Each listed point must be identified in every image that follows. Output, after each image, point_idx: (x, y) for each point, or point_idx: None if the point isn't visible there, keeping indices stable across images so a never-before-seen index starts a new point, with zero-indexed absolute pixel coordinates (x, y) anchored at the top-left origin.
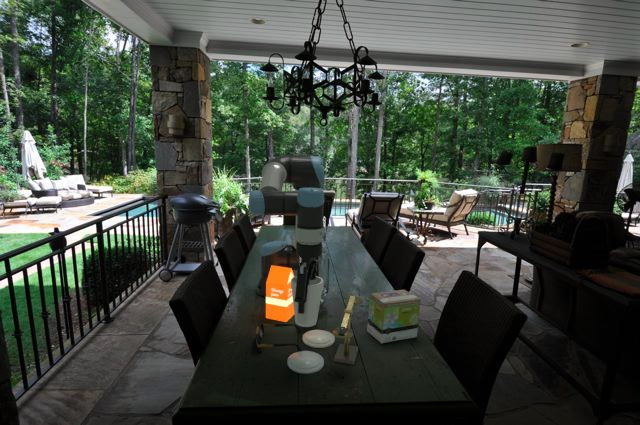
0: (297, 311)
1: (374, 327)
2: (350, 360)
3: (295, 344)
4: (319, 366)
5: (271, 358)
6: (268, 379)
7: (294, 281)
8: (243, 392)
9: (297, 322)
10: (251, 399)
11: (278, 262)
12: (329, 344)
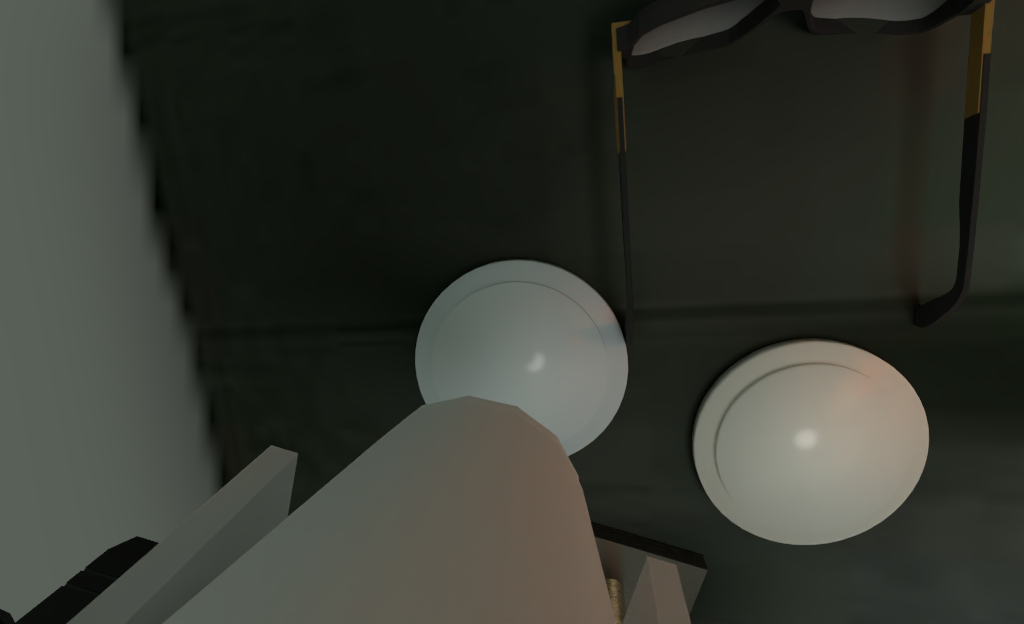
0: (179, 526)
1: None
2: None
3: (627, 313)
4: None
5: (559, 153)
6: (348, 169)
7: None
8: (223, 51)
9: (267, 453)
10: (182, 108)
11: None
12: (716, 505)
